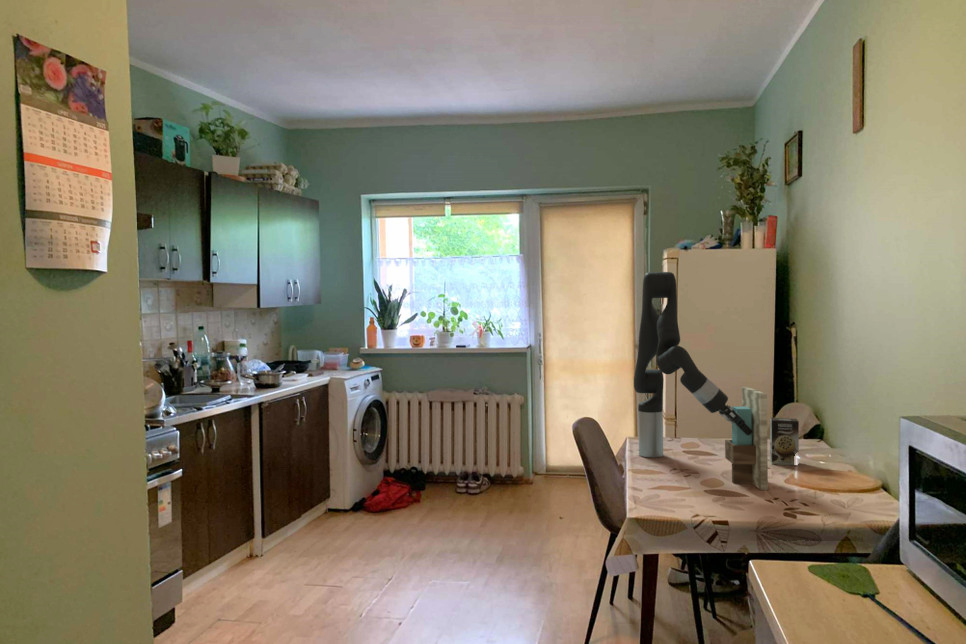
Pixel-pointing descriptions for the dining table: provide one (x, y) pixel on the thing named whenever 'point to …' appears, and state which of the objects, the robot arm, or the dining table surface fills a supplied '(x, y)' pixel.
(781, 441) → the coffee box
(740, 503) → the dining table surface
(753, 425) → the ledge stand with backboard
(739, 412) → the chunky teal box
